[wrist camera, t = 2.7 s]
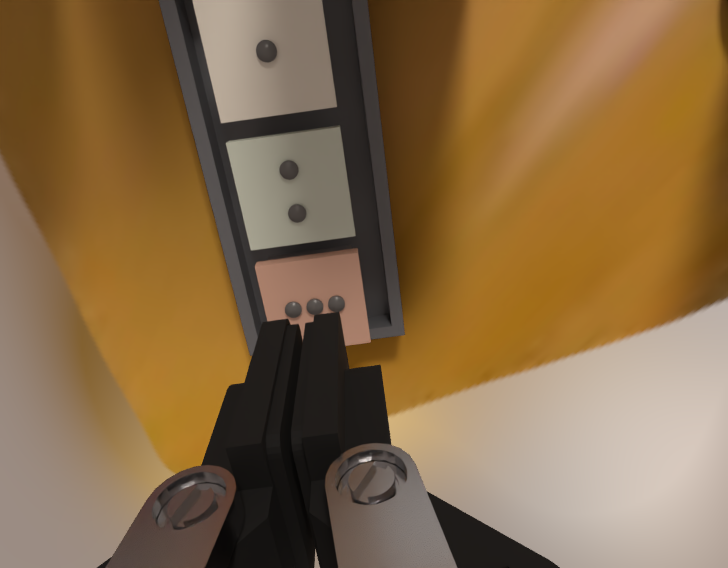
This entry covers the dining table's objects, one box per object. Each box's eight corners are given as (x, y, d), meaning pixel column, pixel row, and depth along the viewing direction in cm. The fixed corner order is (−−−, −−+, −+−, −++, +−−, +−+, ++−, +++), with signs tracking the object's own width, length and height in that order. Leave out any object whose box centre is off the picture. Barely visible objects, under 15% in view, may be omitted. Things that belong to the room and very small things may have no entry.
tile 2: (339, 121, 29) (339, 127, 26) (354, 222, 31) (355, 237, 29) (235, 136, 29) (224, 143, 27) (257, 235, 32) (250, 251, 29)
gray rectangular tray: (359, -49, 28) (360, -57, 26) (401, 318, 37) (404, 334, 35) (166, -21, 28) (151, -27, 26) (255, 338, 37) (250, 355, 35)
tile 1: (319, -21, 26) (317, -30, 24) (337, 102, 29) (336, 107, 26) (203, -4, 26) (188, -11, 24) (230, 117, 29) (220, 123, 26)
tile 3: (356, 238, 32) (358, 253, 29) (368, 322, 34) (370, 344, 32) (261, 251, 32) (254, 268, 29) (280, 334, 34) (274, 356, 32)
